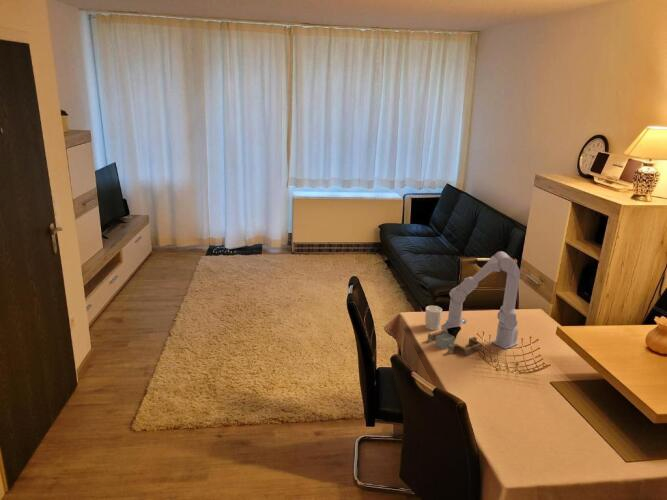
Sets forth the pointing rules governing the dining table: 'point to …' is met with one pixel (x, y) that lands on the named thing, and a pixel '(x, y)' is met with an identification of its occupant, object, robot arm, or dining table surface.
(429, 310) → the white cup
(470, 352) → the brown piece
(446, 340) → the block
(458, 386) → the dining table surface
